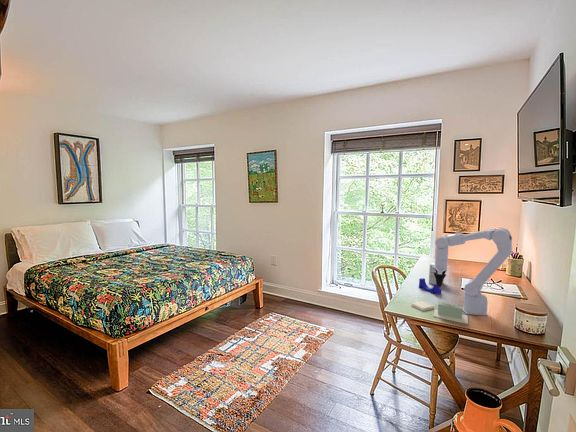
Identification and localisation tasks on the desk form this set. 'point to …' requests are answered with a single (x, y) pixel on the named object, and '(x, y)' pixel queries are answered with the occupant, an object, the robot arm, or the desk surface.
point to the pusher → (450, 310)
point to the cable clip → (424, 286)
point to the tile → (422, 306)
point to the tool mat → (463, 320)
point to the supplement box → (432, 274)
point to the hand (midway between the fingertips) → (439, 284)
